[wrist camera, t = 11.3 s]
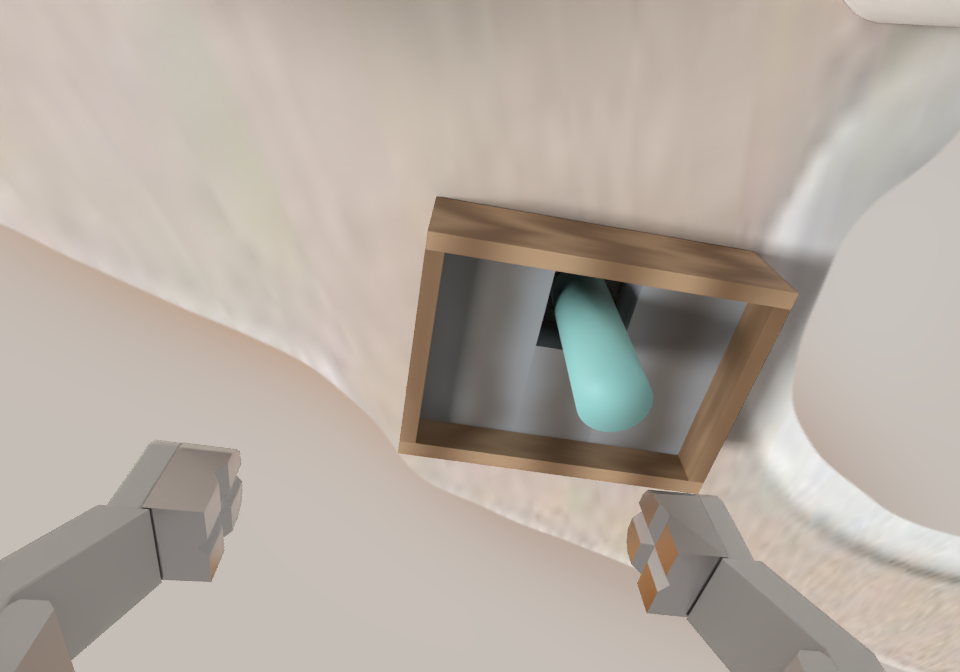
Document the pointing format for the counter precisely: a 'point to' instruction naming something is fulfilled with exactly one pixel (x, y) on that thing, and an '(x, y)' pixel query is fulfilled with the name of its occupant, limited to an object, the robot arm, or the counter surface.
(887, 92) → the counter surface
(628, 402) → the peg
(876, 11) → the cylindrical container
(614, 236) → the box
